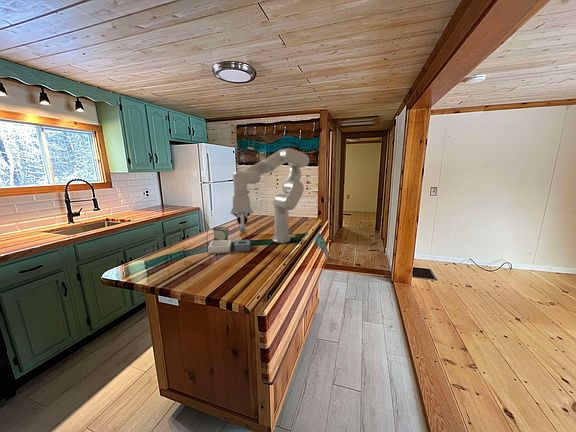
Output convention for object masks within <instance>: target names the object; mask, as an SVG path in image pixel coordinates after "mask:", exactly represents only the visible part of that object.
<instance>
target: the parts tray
mask: <svg viewBox="0 0 576 432" xmlns="http://www.w3.org/2000/svg"><path fill="white" fill-rule="evenodd" d="M231 250H232V240H231V239H228V240H218V241H215V240H211V241H210V243H209V245H208V247H207V251H208V253H207V254H209V255H211V254H230V253H231Z"/></svg>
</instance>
